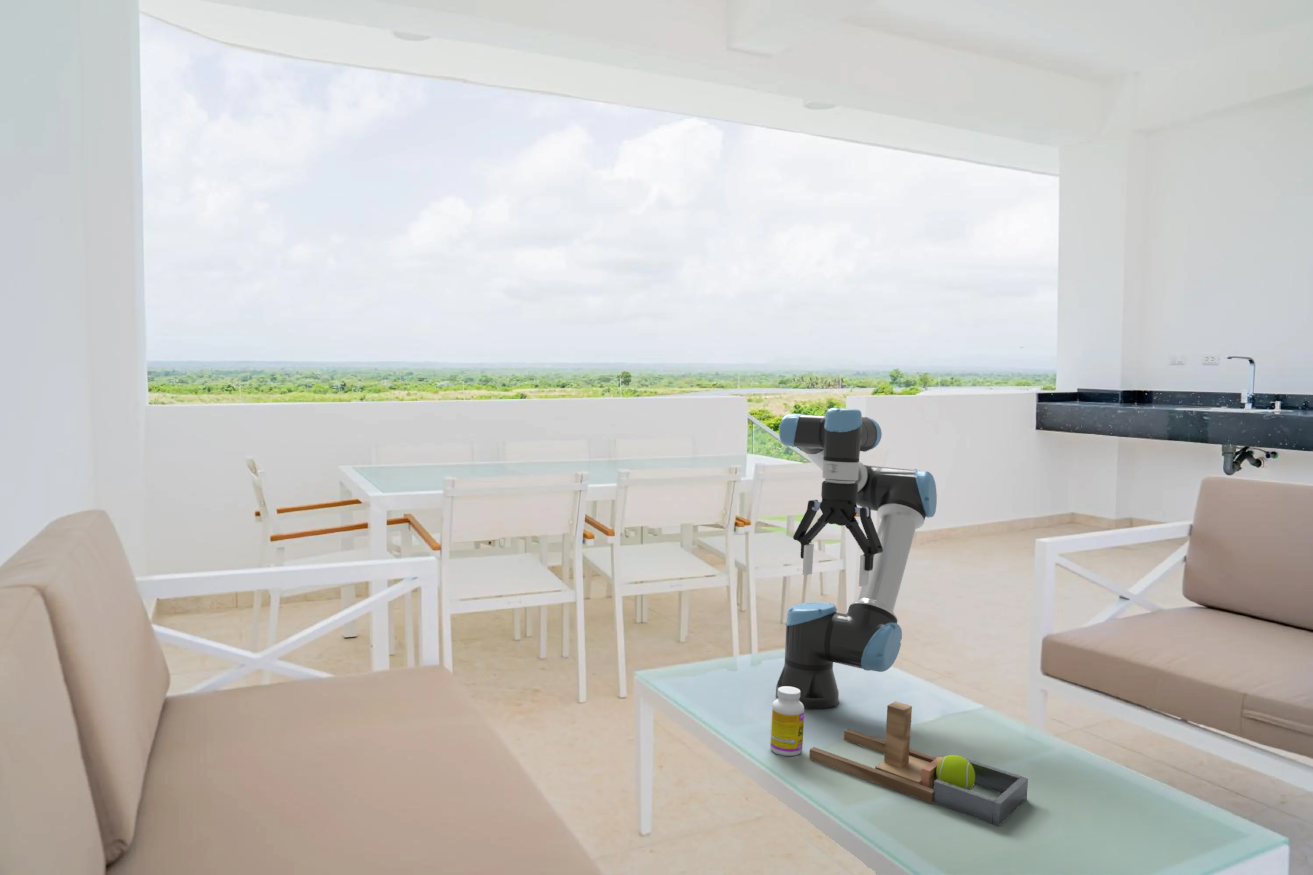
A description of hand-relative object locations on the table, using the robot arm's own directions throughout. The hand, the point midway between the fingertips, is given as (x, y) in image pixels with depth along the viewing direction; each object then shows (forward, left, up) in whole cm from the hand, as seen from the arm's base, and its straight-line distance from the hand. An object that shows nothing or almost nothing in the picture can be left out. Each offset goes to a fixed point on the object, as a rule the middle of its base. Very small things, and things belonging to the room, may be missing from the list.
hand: (834, 579), depth 184 cm
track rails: (+4, +16, -35) cm, 38 cm away
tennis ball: (+4, +30, -35) cm, 46 cm away
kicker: (+4, +21, -35) cm, 41 cm away
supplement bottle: (+12, -3, -35) cm, 37 cm away
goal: (+4, +35, -35) cm, 49 cm away
